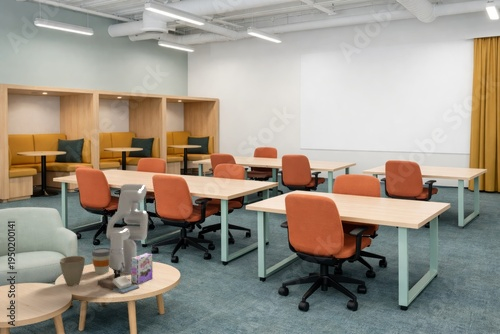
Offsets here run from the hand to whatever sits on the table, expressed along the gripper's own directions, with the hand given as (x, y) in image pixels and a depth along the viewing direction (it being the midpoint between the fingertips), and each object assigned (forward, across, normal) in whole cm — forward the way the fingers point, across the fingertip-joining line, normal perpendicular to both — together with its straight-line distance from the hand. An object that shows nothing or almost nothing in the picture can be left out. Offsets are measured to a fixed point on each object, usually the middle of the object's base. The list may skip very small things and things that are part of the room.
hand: (117, 279), depth 284 cm
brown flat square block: (+4, -4, 0) cm, 6 cm away
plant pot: (+4, -25, -15) cm, 29 cm away
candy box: (+4, +4, +16) cm, 17 cm away
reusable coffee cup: (+4, -31, +11) cm, 33 cm away
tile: (+2, +5, 0) cm, 5 cm away
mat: (+4, +8, 0) cm, 9 cm away
